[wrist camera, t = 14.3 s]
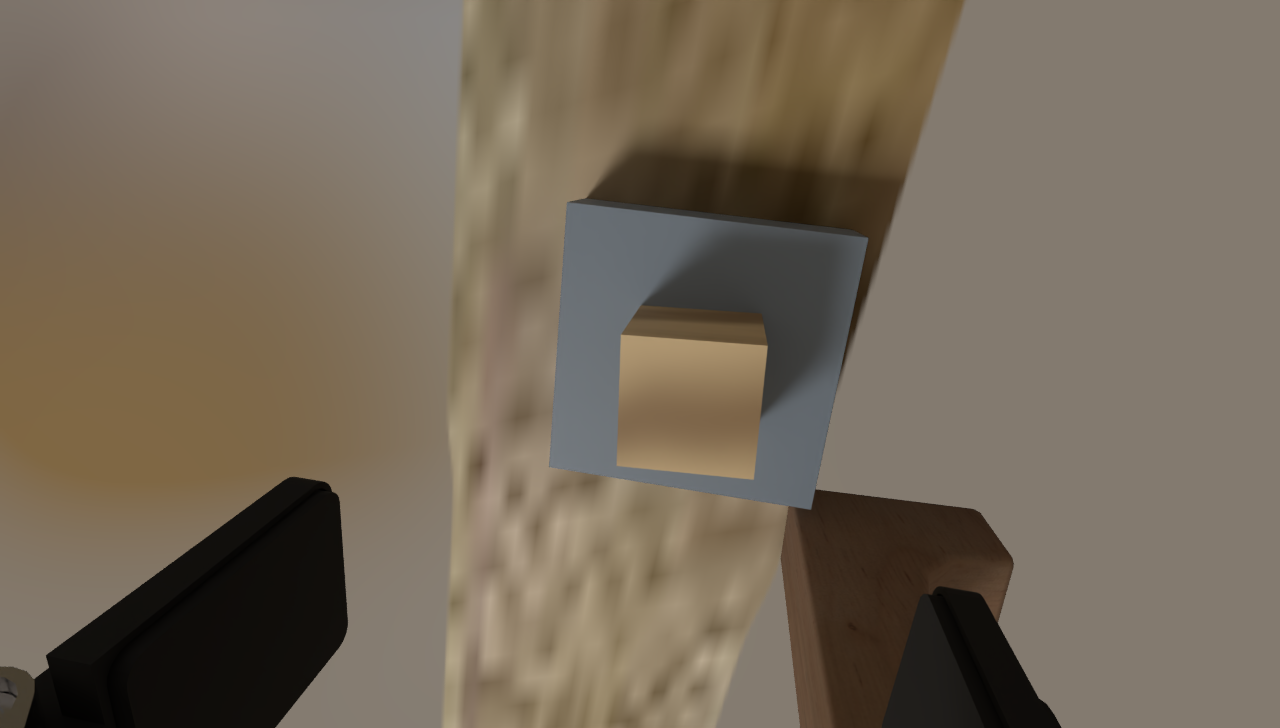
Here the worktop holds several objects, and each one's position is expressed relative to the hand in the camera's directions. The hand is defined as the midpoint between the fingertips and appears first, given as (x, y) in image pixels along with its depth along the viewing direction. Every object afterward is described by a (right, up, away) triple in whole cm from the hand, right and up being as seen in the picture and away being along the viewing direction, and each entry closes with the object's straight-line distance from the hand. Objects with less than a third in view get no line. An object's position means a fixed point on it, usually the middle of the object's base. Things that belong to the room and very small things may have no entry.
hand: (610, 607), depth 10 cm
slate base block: (+3, +5, +21) cm, 22 cm away
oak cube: (+3, +4, +17) cm, 18 cm away
